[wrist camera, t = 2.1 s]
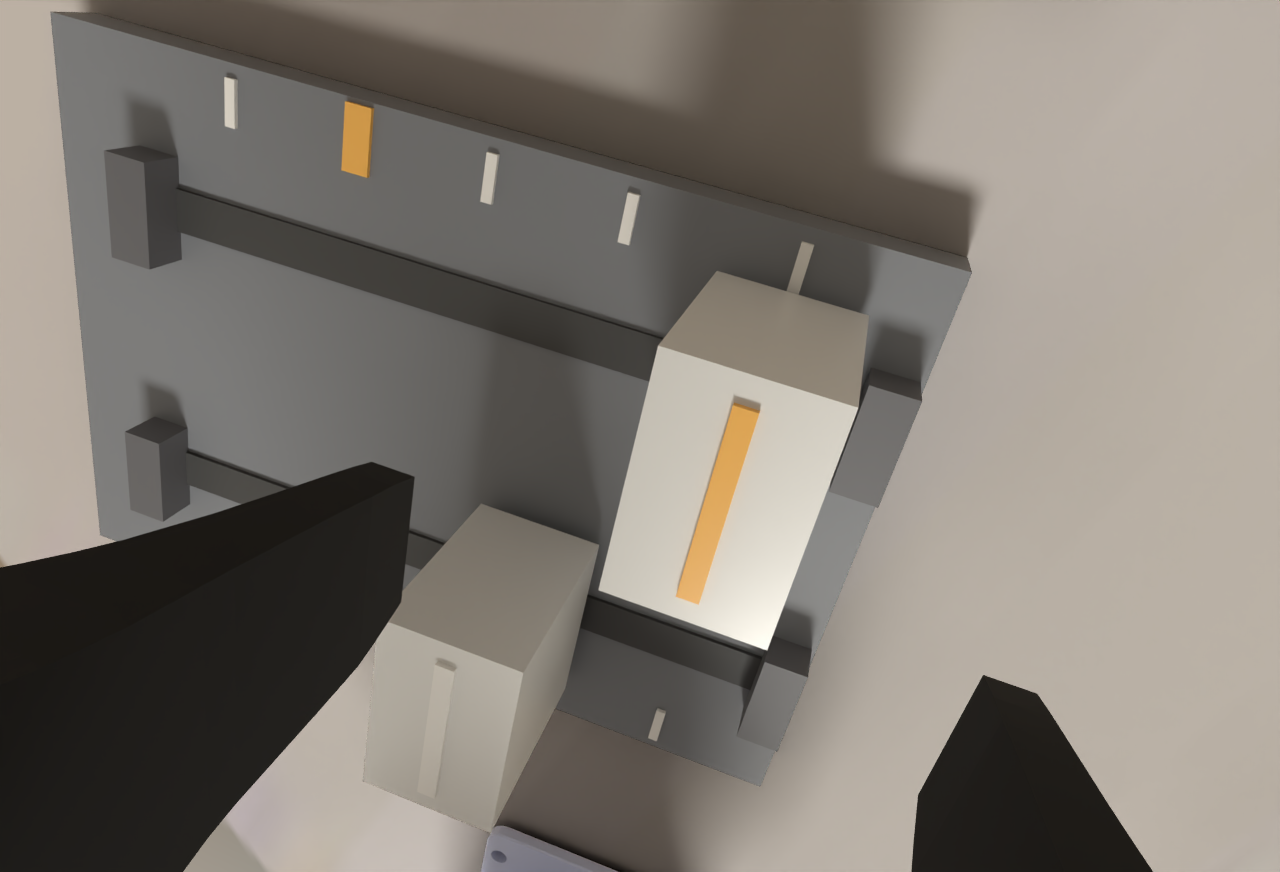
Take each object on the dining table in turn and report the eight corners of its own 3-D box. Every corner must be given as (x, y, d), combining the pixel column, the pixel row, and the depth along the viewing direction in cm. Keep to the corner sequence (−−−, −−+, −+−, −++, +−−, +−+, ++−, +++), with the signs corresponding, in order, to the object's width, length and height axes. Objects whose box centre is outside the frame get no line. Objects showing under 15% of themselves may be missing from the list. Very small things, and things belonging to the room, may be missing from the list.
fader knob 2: (796, 515, 18) (766, 654, 14) (663, 471, 19) (596, 593, 15) (868, 315, 16) (858, 411, 12) (716, 270, 17) (655, 347, 13)
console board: (766, 753, 23) (754, 817, 21) (132, 514, 26) (71, 552, 24) (967, 257, 17) (976, 286, 15) (96, 13, 20) (8, 10, 18)
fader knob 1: (565, 688, 22) (488, 838, 18) (458, 648, 23) (359, 785, 18) (599, 545, 20) (521, 676, 16) (480, 503, 20) (374, 621, 16)
